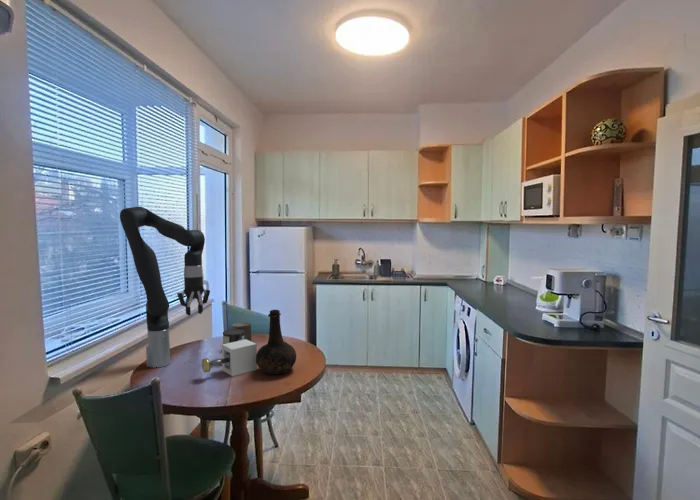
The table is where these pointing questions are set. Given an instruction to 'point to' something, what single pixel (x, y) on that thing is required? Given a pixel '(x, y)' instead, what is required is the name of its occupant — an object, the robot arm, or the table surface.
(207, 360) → the plunger
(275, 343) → the antique onion bottle
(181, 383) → the table surface
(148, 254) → the robot arm
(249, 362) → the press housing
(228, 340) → the coffee can
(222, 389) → the table surface
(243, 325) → the pillar candle
